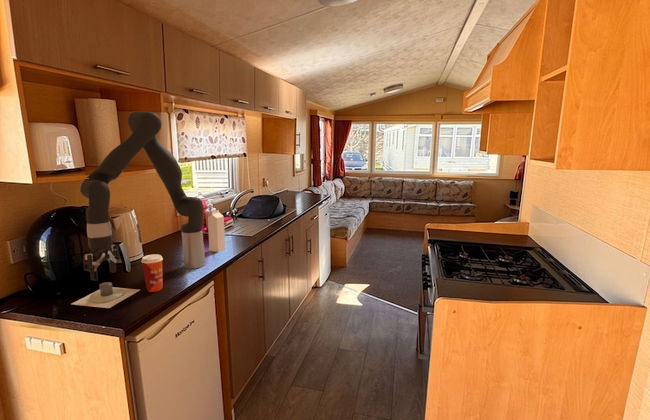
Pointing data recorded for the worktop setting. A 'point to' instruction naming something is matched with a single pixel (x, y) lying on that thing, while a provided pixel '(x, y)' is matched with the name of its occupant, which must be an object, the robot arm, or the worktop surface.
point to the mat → (87, 302)
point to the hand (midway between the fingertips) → (104, 276)
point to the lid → (106, 293)
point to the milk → (216, 231)
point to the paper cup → (153, 272)
